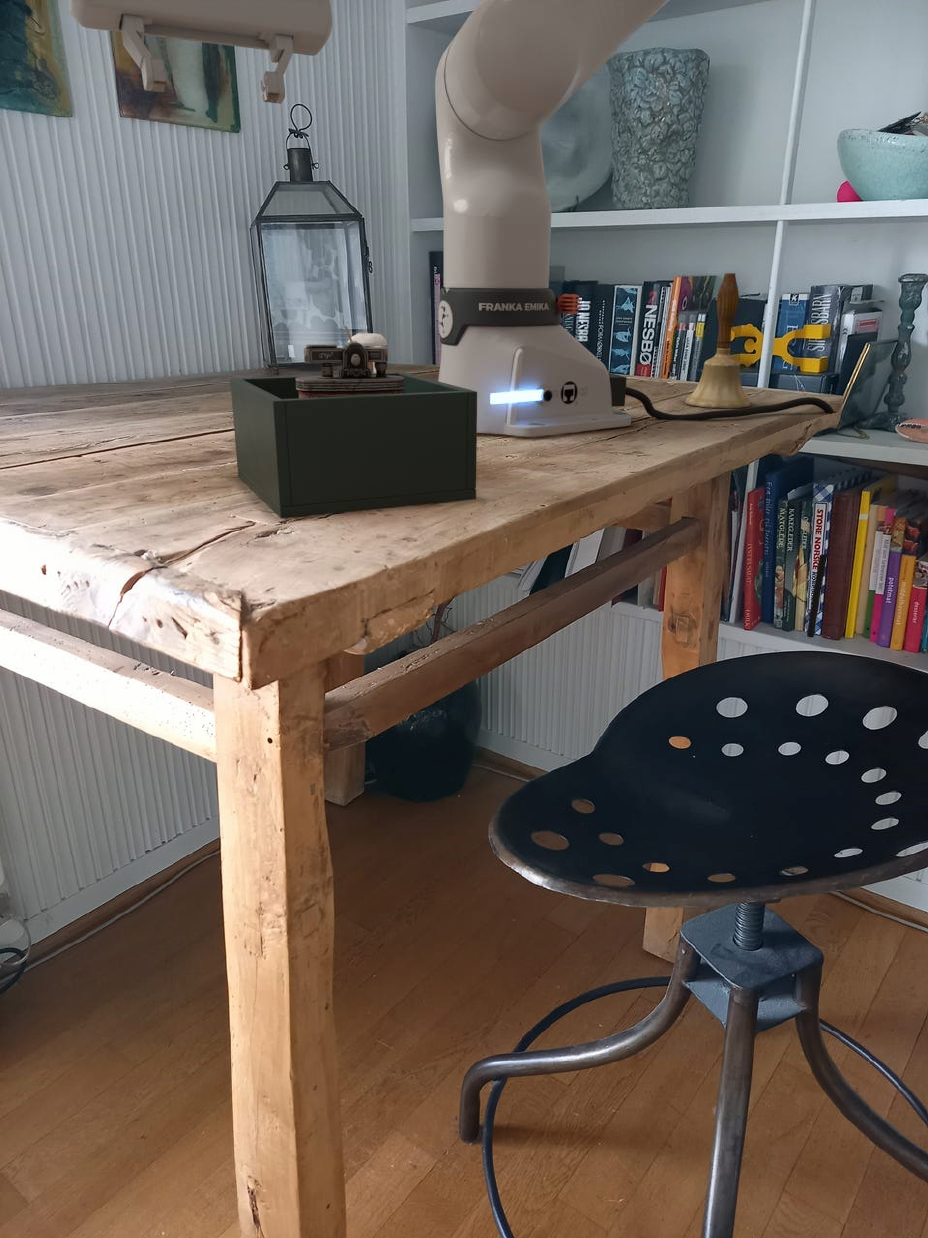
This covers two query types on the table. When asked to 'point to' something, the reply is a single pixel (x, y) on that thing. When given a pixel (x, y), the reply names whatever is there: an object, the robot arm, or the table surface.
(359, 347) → the lighter
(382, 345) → the milkshake
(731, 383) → the hand bell
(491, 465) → the table surface
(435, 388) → the bin
